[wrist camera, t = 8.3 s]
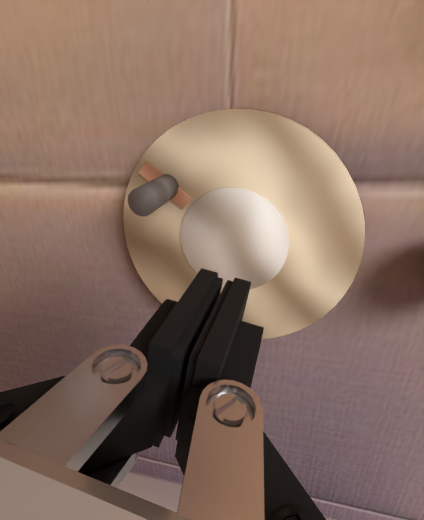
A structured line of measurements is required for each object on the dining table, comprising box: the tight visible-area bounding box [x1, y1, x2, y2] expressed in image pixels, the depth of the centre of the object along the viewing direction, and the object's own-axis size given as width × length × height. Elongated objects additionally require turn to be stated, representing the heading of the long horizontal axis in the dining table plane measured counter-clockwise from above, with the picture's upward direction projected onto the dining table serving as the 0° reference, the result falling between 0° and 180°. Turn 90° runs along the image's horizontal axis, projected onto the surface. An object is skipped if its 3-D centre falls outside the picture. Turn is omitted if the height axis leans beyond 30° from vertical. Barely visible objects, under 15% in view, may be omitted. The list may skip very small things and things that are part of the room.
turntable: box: [123, 108, 365, 339], centre depth 26 cm, size 20×20×6 cm
